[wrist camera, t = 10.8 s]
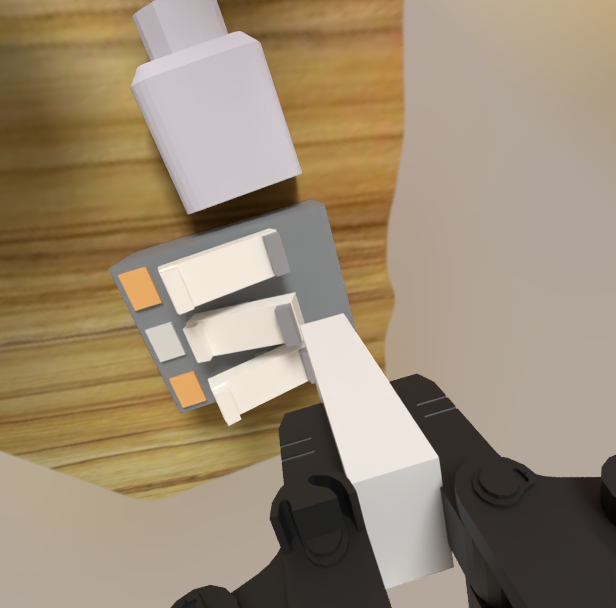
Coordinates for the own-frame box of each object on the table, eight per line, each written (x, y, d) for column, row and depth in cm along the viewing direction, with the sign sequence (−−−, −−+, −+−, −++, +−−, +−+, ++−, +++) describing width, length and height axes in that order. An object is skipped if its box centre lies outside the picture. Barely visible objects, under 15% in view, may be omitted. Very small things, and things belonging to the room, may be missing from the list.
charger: (227, -38, 26) (296, 174, 31) (104, 4, 25) (195, 210, 31) (222, -84, 21) (303, 173, 26) (72, -33, 21) (186, 216, 26)
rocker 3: (221, 410, 28) (227, 427, 26) (207, 379, 27) (212, 394, 25) (312, 366, 30) (324, 379, 28) (302, 336, 29) (314, 346, 27)
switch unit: (189, 377, 36) (175, 420, 29) (131, 252, 31) (99, 273, 25) (344, 327, 36) (364, 359, 30) (311, 198, 32) (326, 204, 25)
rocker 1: (175, 307, 25) (178, 317, 22) (157, 266, 24) (158, 272, 21) (281, 267, 27) (292, 272, 25) (269, 228, 26) (279, 230, 24)
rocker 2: (209, 347, 28) (196, 364, 26) (194, 313, 27) (180, 328, 25) (306, 329, 27) (302, 345, 24) (295, 292, 25) (289, 306, 23)
